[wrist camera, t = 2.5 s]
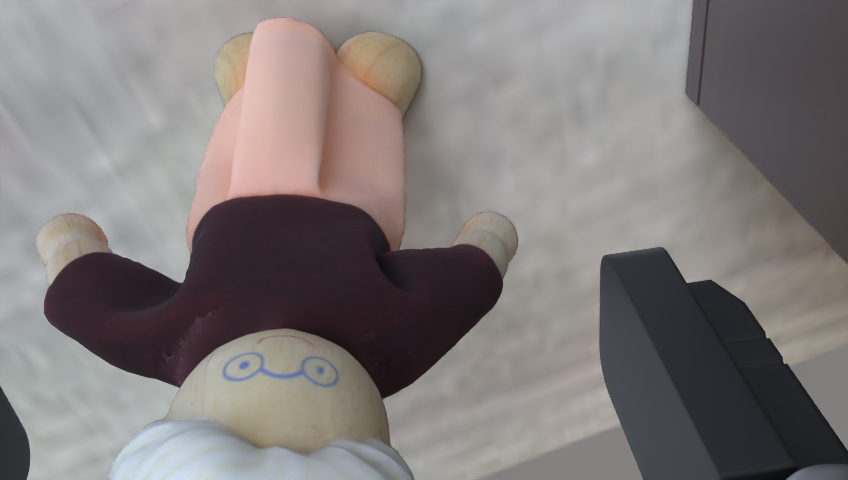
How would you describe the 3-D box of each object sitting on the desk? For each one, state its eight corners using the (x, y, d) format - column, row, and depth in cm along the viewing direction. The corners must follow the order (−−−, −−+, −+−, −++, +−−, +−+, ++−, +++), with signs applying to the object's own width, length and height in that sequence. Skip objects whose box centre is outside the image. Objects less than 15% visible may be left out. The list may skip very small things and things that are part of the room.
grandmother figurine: (455, -25, 17) (681, 425, 6) (471, 138, 19) (659, 673, 8) (90, 32, 17) (-297, 591, 6) (149, 190, 19) (-65, 800, 8)
